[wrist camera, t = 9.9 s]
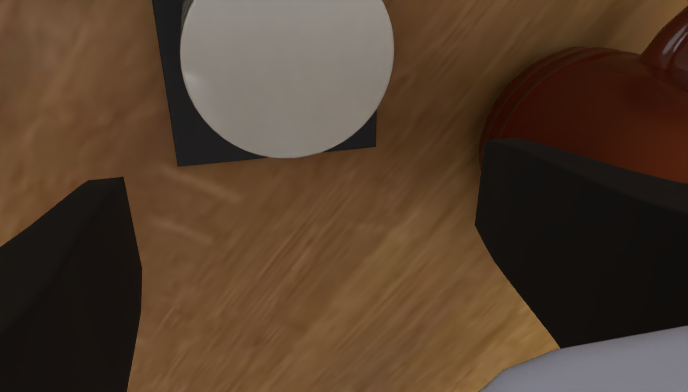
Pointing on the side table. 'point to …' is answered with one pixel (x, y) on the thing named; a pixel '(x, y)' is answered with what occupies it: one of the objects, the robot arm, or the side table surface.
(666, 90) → the mug
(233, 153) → the mat
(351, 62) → the saucers
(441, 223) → the side table surface
